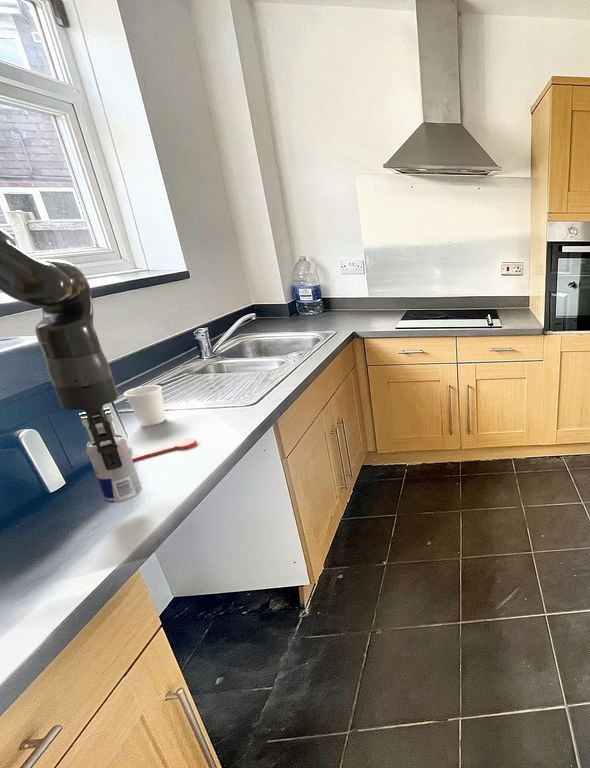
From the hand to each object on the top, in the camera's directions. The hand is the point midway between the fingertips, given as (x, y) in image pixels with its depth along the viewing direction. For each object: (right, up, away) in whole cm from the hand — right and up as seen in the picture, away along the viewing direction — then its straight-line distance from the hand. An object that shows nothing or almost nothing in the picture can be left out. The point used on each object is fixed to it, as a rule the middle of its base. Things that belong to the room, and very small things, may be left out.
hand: (112, 462), depth 79 cm
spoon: (-13, -3, +25) cm, 28 cm away
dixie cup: (-29, +4, +43) cm, 52 cm away
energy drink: (0, -7, +3) cm, 8 cm away
